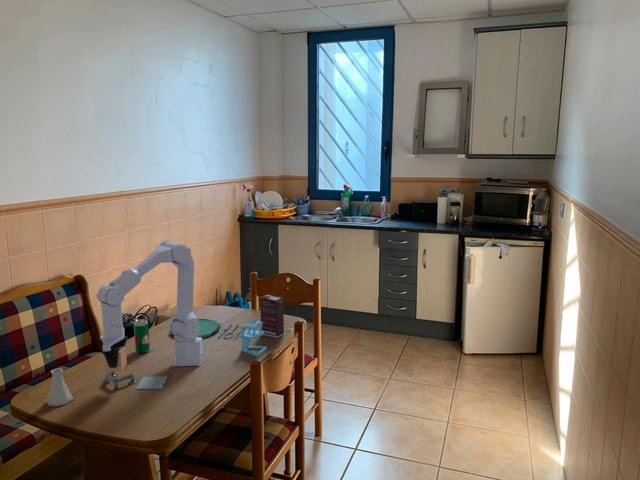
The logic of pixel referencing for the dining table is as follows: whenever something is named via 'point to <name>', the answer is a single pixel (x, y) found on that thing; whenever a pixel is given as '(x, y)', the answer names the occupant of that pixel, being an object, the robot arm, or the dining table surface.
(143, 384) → the mat
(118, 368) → the pink block with hole
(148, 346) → the soda can
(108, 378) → the bent jointed bar linkage
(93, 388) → the dining table surface
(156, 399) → the dining table surface
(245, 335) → the chair
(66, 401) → the flask
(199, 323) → the cutlery set
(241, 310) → the dining table surface
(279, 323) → the supplement box
